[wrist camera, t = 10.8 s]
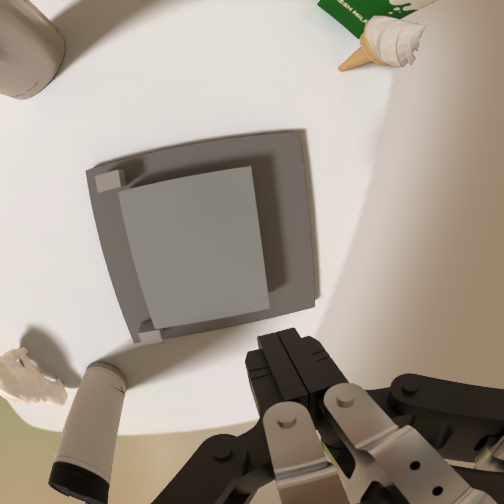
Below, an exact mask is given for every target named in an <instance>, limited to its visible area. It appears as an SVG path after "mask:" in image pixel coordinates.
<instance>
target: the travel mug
mask: <svg viewBox="0 0 504 504" xmlns="http://www.w3.org/2000/svg"><path fill="white" fill-rule="evenodd" d="M126 388H127V382H126V379H125V377H124V376H123V374H122V373H121V372H120V371H119V370H118V369H116V368H115V367H113V366H111V365H109V364H106V363H99V362H98V363H93V364H91V365H89V366H88V367H87V369H86V371H85V374H84V376H83V378H82V381H81V383H80V386H79V388H78V391H77V393H76V396H75V398H74V401H73V403H72V406H71V409H70V412H69V414H68V417H67V420H66V423H65V426H64V429H63V432H62V435H61V438H60V441H59V444H58V447H57V451H56V454H55V458H54V461H53V467H52V471H51V474H50V478H49V483H48V484H49V485H50V486H51V487H52V488H53V489H55V490H57V491H58V492H60V493H62V494H64V495H66V496H68V497H69V495H70V496H72V497H74V498H76V499H79V500H82V501H85V503H86V504H107V503H108V491H109V487H110V479H111V471H112V464H113V456H114V450H115V444H116V438H117V432H118V427H119V421H120V416H121V411H122V406H123V401H124V397H125V392H126Z"/></svg>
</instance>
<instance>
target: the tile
mask: <svg viewBox="0 0 504 504" xmlns="http://www.w3.org/2000/svg"><path fill="white" fill-rule="evenodd" d="M118 194H119V200H120V205H121V210H122V214H123V219H124V224H125V228H126V232H127V237H128V241H129V245H130V249H131V253H132V256H133V260H134V264H135V268H136V271H137V275H138V278H139V282H140V285H141V288H142V292H143V295H144V298H145V301H146V304H147V307H148V310H149V313H150V316H151V319H152V322H153V325H154V328H155V329H160V328H167V327H173V326H179V325H185V324H192V323H197V322H203V321H209V320H214V319H220V318H225V317H230V316H236V315H241V314H246V313H251V312H255V311H260V310H265V309H270V305H269V297H268V289H267V281H266V274H265V266H264V258H263V251H262V243H261V236H260V228H259V221H258V213H257V206H256V199H255V191H254V184H253V177H252V170H251V166H247V167H240V168H233V169H227V170H221V171H214V172H209V173H203V174H197V175H192V176H187V177H181V178H176V179H171V180H167V181H162V182H157V183H153V184H148V185H144V186H140V187H135V188H131V189H127V190H123V191H119V192H118Z"/></svg>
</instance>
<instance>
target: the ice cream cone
mask: <svg viewBox="0 0 504 504" xmlns="http://www.w3.org/2000/svg"><path fill="white" fill-rule="evenodd" d="M425 26H426V25H423V24H416V23H411V22H407V21H403V20H400V19H396V18H392V17H387V16H373V17H372V18H371V19H370V21H369V22H368V23H367V24H366V25H365V28H364V33H363V34H361V37H360V44H361V47H360V48H359V49H358V50H357V51H355V52H354V53H353V54H352V55H351V56H350V57H349V58H348V59H347V60H346V61H345V62H344V63H342V64H341V65H340V66H339V68H338V69H339V71H345V70H348V69H350V68H354V67H357V66H359V65H363V64H366V63H369V62H372V61H373V62H374V63H376V64H378V65H381V66H388V65H390V66H392V67H404V66H405V65H406V63H407V62H409V64H410V65H412V64H413V62H414V60H415V57H414V55H413V54H412V53H413V51H414V49H415V50H416V51H417V50H418V47H419V39H420V38H421V35H422V32H423V30H424V28H425Z"/></svg>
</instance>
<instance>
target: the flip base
mask: <svg viewBox="0 0 504 504" xmlns="http://www.w3.org/2000/svg"><path fill="white" fill-rule="evenodd" d="M247 166H251V170H252V177H253V184H254V191H255V199H256V206H257V213H258V221H259V228H260V236H261V243H262V251H263V258H264V266H265V274H266V281H267V289H268V297H269V305H270V309H265V310H260V311H255V312H251V313H246V314H241V315H236V316H230V317H225V318H220V319H214V320H209V321H203V322H197V323H192V324H185V325H179V326H173V327H167V328H160V329H155V328H154V325H153V322H152V319H151V316H150V313H149V310H148V307H147V304H146V301H145V298H144V295H143V292H142V288H141V285H140V282H139V278H138V275H137V271H136V268H135V264H134V260H133V256H132V253H131V249H130V245H129V241H128V237H127V232H126V228H125V224H124V219H123V214H122V210H121V205H120V200H119V194H118V192H119V191H123V190H127V189H131V188H135V187H140V186H144V185H148V184H153V183H157V182H162V181H167V180H171V179H176V178H181V177H187V176H192V175H197V174H203V173H209V172H214V171H221V170H227V169H233V168H240V167H247ZM86 176H87V182H88V188H89V194H90V199H91V204H92V209H93V213H94V218H95V222H96V227H97V231H98V235H99V239H100V243H101V247H102V250H103V254H104V258H105V261H106V265H107V268H108V271H109V275H110V278H111V281H112V284H113V287H114V290H115V293H116V296H117V299H118V302H119V305H120V308H121V310H122V313H123V316H124V319H125V321H126V324H127V326H128V329H129V331H130V334H131V336H132V339H133V341H134V343H139V342H142V345H148V344H154V343H161V342H163V340H164V339H166V338H172V337H178V336H184V335H190V334H196V333H201V332H206V331H212V330H217V329H222V328H227V327H232V326H237V325H241V324H246V323H251V322H255V321H260V320H264V319H268V318H272V317H277V316H281V315H285V314H289V313H293V312H297V311H301V310H305V309H309V308H312V307H315V296H314V276H313V260H312V245H311V232H310V220H309V210H308V199H307V190H306V181H305V172H304V163H303V156H302V148H301V140H300V133H299V132H289V133H276V134H265V135H255V136H246V137H238V138H230V139H223V140H216V141H210V142H204V143H198V144H192V145H186V146H181V147H176V148H171V149H166V150H161V151H157V152H152V153H148V154H144V155H140V156H136V157H132V158H128V159H124V160H120V161H116V162H113V163H109V164H106V165H102V166H99V167H95V168H92V169H89V170H86Z"/></svg>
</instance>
